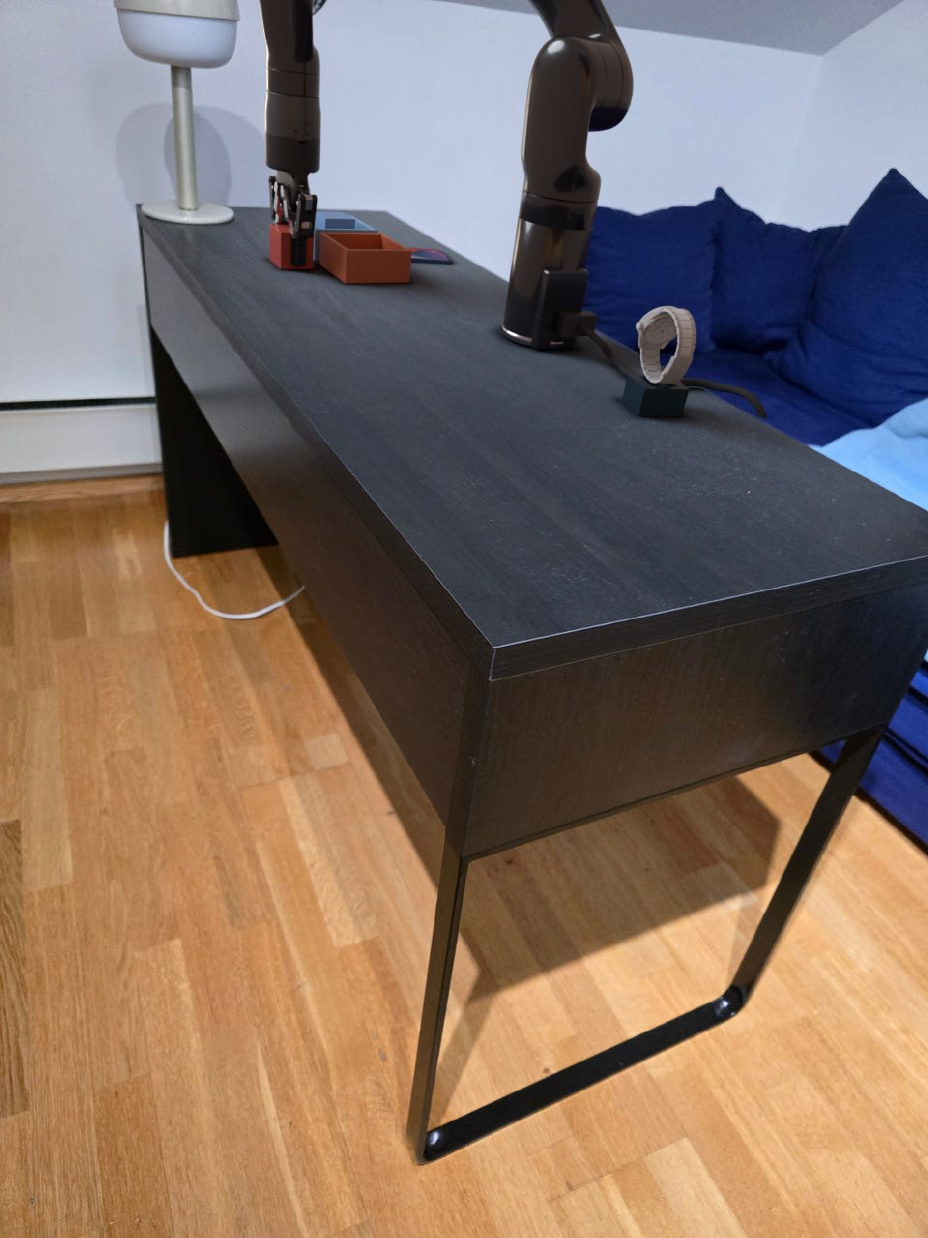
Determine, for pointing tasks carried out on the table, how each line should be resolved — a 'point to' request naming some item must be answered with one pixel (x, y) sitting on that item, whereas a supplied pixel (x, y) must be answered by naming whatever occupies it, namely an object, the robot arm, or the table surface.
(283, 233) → the red block
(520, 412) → the table surface
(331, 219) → the blue block
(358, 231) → the blue bin
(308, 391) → the table surface
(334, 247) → the orange bin
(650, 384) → the watch
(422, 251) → the smartphone
